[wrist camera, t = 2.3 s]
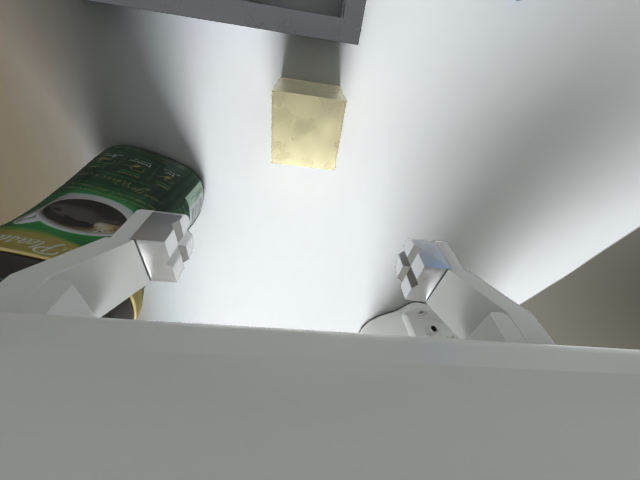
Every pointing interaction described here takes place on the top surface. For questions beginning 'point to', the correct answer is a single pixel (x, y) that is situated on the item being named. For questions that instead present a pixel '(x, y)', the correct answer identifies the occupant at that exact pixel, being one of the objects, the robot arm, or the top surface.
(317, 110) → the khaki block
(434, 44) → the top surface
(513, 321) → the robot arm
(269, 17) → the rail
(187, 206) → the coffee jar
